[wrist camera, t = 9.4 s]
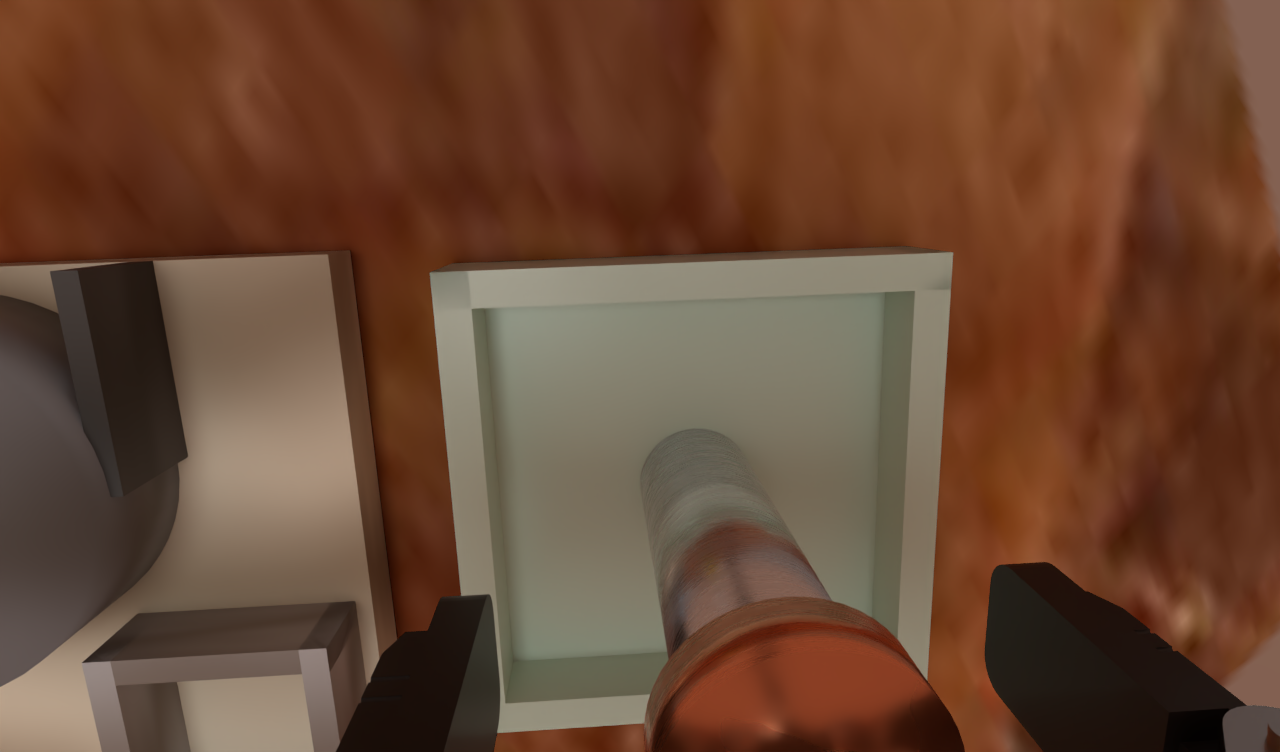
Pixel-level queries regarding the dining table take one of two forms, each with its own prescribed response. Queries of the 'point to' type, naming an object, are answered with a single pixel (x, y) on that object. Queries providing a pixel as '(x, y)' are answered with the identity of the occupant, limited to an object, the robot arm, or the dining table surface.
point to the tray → (668, 403)
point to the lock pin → (764, 627)
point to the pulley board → (186, 505)
